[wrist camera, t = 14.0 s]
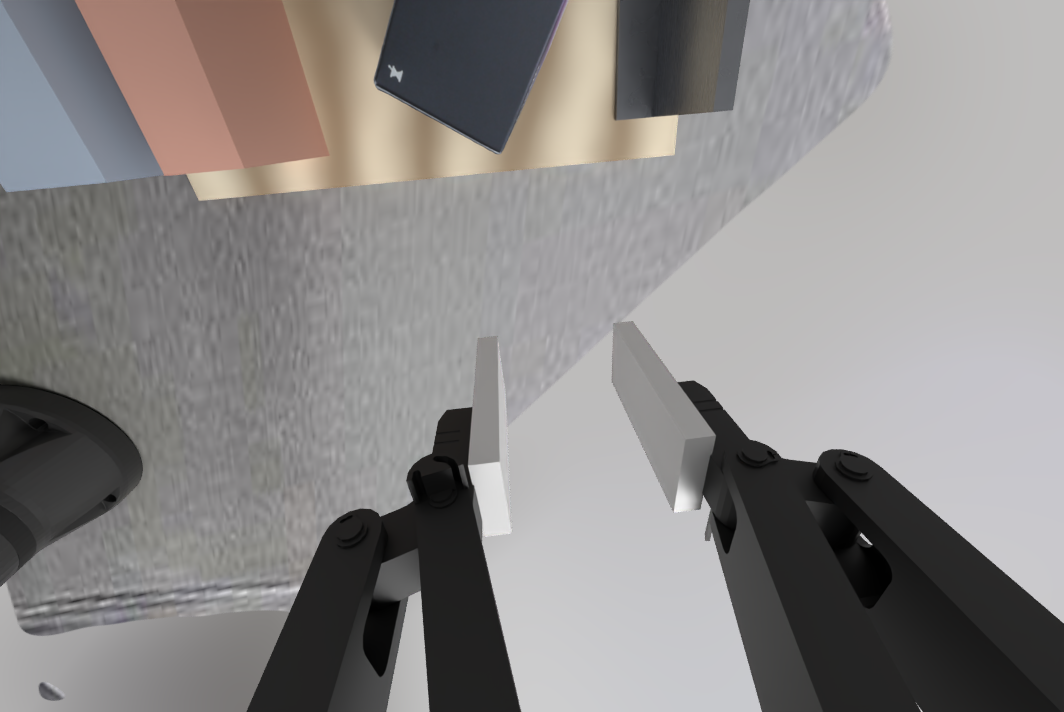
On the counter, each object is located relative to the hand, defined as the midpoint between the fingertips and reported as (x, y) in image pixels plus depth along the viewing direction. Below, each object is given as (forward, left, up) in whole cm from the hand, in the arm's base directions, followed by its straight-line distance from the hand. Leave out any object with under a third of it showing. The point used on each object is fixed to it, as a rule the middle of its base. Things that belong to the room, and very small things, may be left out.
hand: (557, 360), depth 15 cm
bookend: (+9, +13, -18) cm, 23 cm away
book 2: (-15, +11, -18) cm, 26 cm away
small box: (-1, +13, -18) cm, 22 cm away
